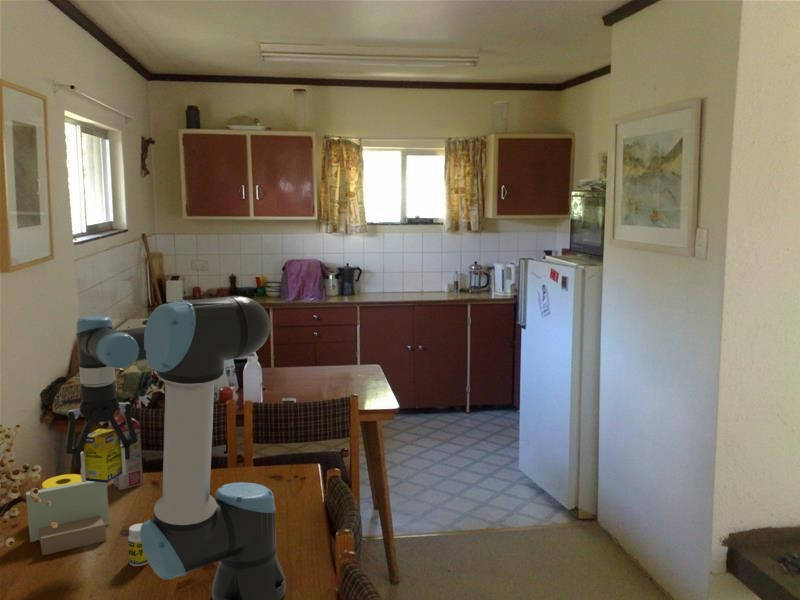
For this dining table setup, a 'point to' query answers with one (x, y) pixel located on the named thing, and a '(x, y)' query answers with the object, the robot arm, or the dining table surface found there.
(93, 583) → the dining table surface
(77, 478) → the yellow hollow cylinder
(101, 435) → the supplement box
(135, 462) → the juice carton
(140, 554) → the supplement bottle
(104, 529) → the letter holder
